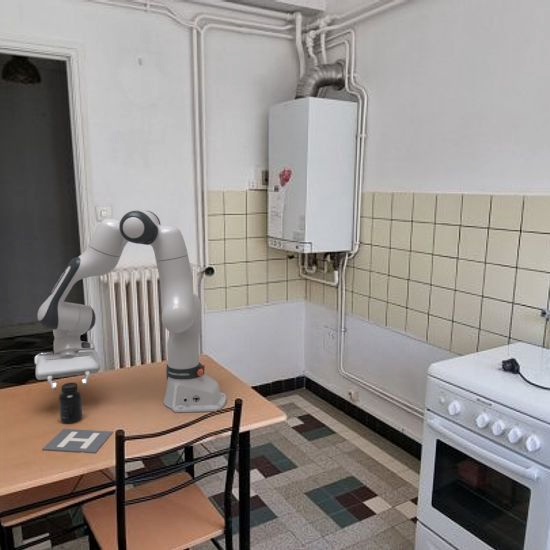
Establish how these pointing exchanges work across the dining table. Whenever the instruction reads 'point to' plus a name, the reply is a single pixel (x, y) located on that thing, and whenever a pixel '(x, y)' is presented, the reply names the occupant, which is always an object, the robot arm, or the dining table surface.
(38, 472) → the dining table surface
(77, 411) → the supplement bottle
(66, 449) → the board
